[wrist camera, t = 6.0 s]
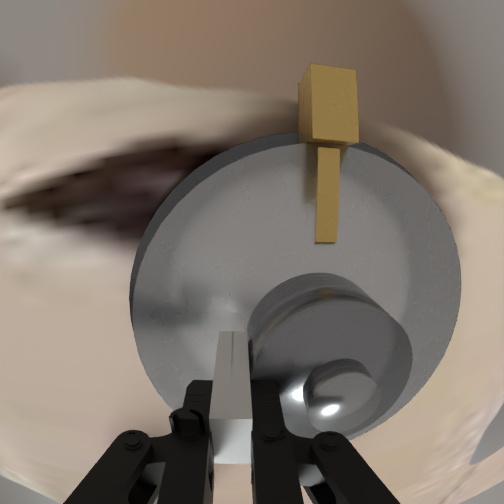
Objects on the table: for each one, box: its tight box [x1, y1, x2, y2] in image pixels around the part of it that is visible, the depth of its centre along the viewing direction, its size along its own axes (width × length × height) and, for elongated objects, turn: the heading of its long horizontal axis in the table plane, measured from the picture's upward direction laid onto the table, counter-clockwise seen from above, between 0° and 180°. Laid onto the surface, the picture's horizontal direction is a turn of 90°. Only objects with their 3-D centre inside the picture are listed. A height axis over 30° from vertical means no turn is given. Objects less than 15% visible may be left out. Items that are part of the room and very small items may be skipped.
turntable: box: [132, 64, 461, 440], centre depth 17 cm, size 22×26×3 cm
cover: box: [246, 273, 413, 438], centre depth 14 cm, size 8×8×6 cm
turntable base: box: [129, 132, 419, 331], centre depth 20 cm, size 24×24×1 cm
